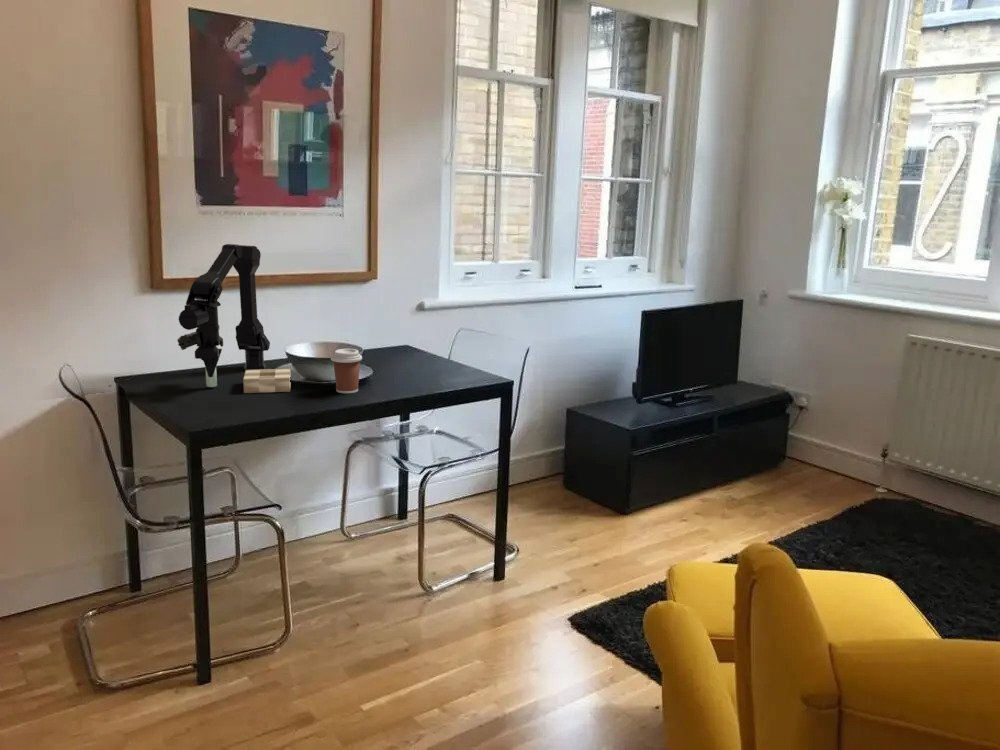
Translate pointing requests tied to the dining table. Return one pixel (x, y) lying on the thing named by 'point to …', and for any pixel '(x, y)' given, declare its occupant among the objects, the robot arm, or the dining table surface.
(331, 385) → the dining table surface
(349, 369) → the coffee cup
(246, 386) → the hole board
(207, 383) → the peg
